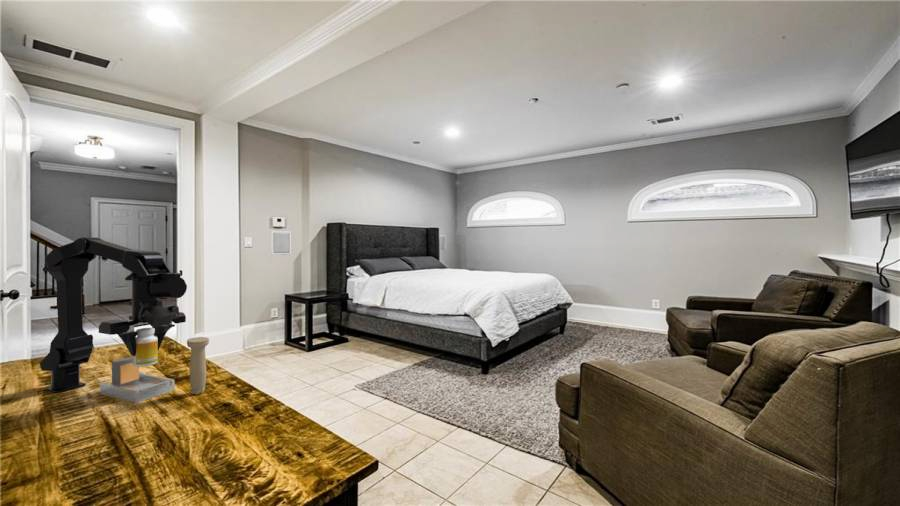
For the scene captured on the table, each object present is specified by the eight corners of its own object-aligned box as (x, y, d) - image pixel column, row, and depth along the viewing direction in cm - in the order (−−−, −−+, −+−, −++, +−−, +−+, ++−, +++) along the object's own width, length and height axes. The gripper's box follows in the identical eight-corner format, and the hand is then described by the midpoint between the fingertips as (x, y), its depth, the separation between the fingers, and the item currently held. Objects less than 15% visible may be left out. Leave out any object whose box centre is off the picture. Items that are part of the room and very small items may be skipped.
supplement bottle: (162, 362, 107) (162, 328, 107) (141, 368, 102) (141, 331, 101) (149, 360, 108) (149, 326, 108) (127, 365, 103) (128, 330, 103)
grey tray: (99, 393, 105) (99, 363, 105) (139, 382, 114) (139, 354, 114) (136, 402, 99) (136, 370, 99) (174, 390, 108) (174, 360, 108)
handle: (191, 398, 102) (191, 343, 102) (184, 392, 106) (184, 339, 106) (211, 393, 106) (211, 339, 106) (203, 387, 110) (204, 336, 110)
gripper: (124, 303, 93) (124, 366, 93) (198, 294, 111) (198, 348, 111) (97, 300, 97) (97, 361, 97) (173, 292, 115) (173, 344, 115)
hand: (145, 353), depth 105 cm, fingers closed on supplement bottle, 5 cm apart
